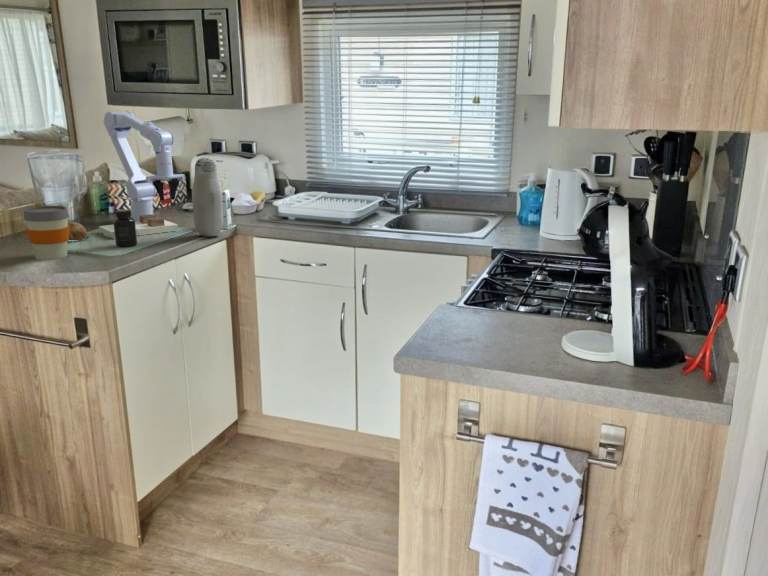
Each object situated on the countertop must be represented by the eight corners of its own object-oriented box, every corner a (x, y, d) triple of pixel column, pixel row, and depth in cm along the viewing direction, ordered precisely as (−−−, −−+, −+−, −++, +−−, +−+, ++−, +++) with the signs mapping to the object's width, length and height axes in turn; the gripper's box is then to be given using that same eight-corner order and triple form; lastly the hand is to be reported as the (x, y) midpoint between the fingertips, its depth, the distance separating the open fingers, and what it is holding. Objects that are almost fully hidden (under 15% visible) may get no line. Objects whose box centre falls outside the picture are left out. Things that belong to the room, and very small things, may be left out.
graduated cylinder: (228, 229, 255) (226, 191, 251) (213, 229, 255) (210, 191, 251) (232, 226, 260) (230, 189, 256) (217, 226, 260) (214, 189, 256)
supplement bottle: (141, 244, 228) (138, 209, 225) (128, 248, 222) (124, 212, 219) (125, 242, 231) (121, 208, 227) (111, 246, 224) (107, 211, 221)
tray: (99, 232, 246) (98, 226, 245) (124, 230, 251) (123, 223, 251) (113, 239, 236) (112, 232, 235) (138, 236, 241) (137, 229, 240)
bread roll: (89, 250, 235) (96, 229, 235) (60, 242, 227) (68, 219, 227) (76, 246, 241) (84, 225, 242) (48, 237, 233) (56, 216, 234)
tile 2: (147, 225, 248) (147, 218, 247) (159, 223, 251) (159, 217, 250) (152, 227, 245) (152, 220, 244) (164, 225, 247) (164, 219, 247)
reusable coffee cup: (33, 252, 215) (27, 206, 210) (76, 250, 218) (70, 205, 214) (25, 262, 203) (18, 213, 199) (70, 259, 206) (64, 211, 202)
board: (124, 230, 251) (123, 223, 251) (162, 225, 261) (162, 219, 260) (138, 236, 241) (137, 229, 240) (178, 231, 251) (177, 224, 250)
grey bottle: (189, 236, 242) (184, 157, 234) (213, 232, 249) (209, 156, 242) (205, 240, 236) (200, 159, 228) (229, 236, 243) (225, 158, 235)
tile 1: (139, 222, 253) (139, 215, 253) (151, 220, 256) (150, 214, 255) (144, 224, 250) (144, 217, 249) (156, 222, 253) (155, 216, 252)
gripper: (149, 165, 245) (153, 202, 248) (187, 163, 254) (189, 199, 257) (142, 164, 250) (145, 200, 253) (179, 162, 259) (181, 197, 263)
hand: (167, 199), depth 256 cm, fingers open, 4 cm apart
